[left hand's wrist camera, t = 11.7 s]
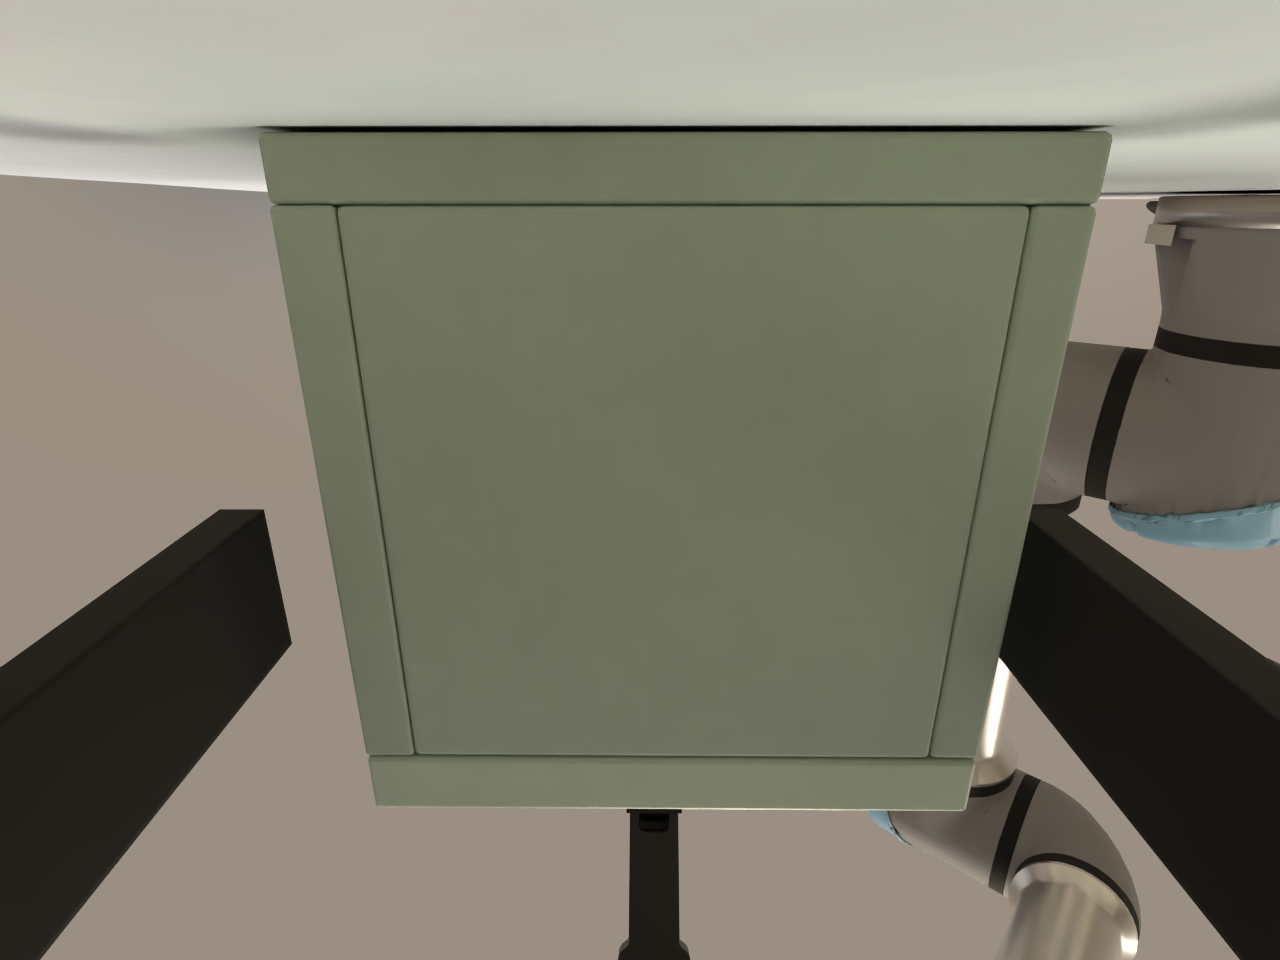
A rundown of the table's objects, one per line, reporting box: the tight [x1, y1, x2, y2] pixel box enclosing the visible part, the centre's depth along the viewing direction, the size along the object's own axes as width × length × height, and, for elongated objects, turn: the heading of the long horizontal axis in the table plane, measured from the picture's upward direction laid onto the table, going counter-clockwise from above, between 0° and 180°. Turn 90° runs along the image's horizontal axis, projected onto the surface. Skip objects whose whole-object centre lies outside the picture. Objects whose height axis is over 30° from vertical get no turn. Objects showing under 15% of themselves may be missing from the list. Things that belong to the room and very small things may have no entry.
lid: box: [369, 750, 975, 811], centre depth 20 cm, size 14×10×8 cm
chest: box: [259, 131, 1112, 758], centre depth 16 cm, size 13×10×9 cm
